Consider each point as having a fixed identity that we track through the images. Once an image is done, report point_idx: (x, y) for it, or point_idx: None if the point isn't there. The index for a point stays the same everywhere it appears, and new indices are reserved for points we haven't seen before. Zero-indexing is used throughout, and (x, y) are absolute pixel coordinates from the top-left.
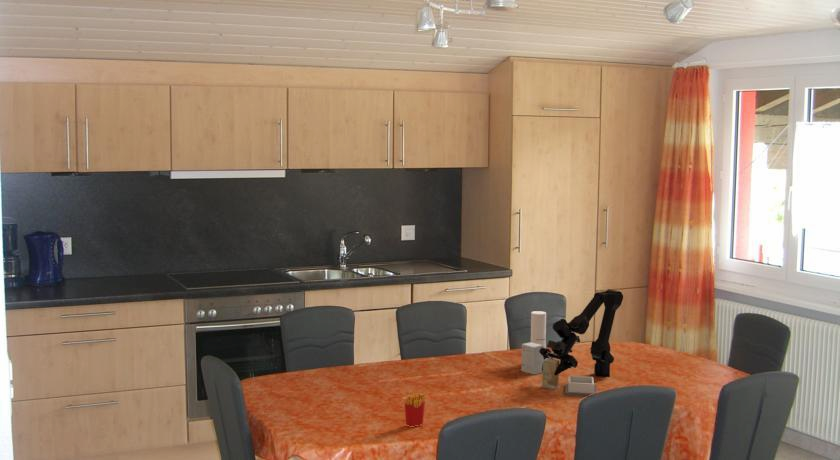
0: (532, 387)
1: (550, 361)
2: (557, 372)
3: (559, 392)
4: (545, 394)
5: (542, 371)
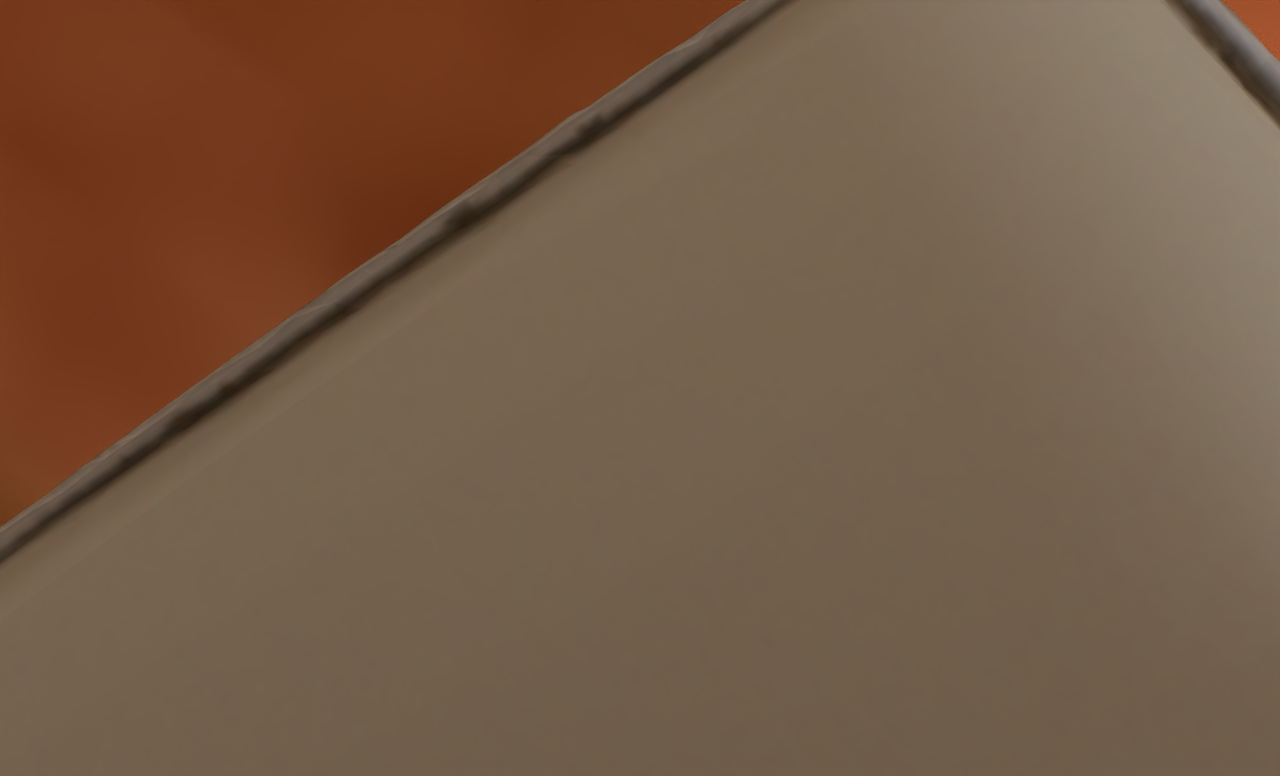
0: None
1: (261, 424)
2: None
3: None
4: (262, 125)
5: None
